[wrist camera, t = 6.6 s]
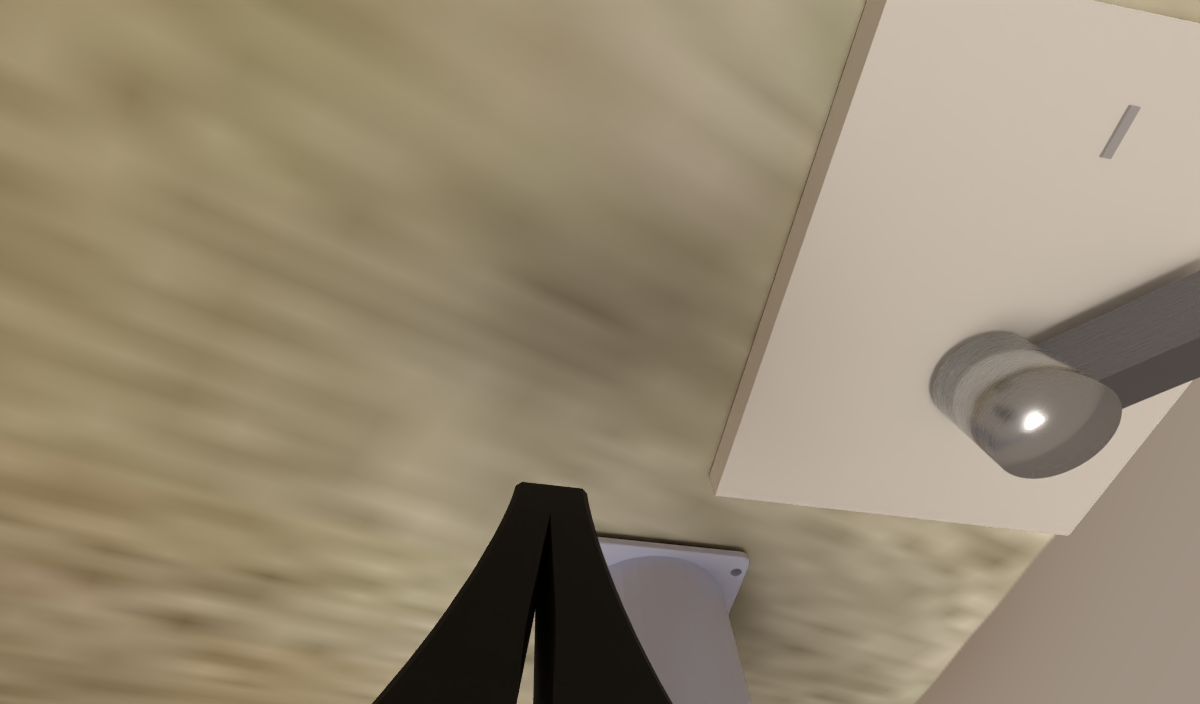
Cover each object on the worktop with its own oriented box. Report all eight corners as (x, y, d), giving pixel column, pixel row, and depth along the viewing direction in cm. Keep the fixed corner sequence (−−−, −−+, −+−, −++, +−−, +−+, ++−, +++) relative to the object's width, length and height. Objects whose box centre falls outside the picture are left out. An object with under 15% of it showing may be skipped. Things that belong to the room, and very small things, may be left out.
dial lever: (946, 435, 19) (1007, 495, 17) (920, 365, 18) (982, 416, 15) (1207, 322, 17) (1327, 369, 15) (1201, 233, 16) (1332, 265, 13)
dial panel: (1047, 515, 23) (1070, 537, 22) (709, 476, 22) (715, 497, 21) (1378, 74, 15) (1442, 74, 14) (877, -32, 14) (903, -42, 13)
